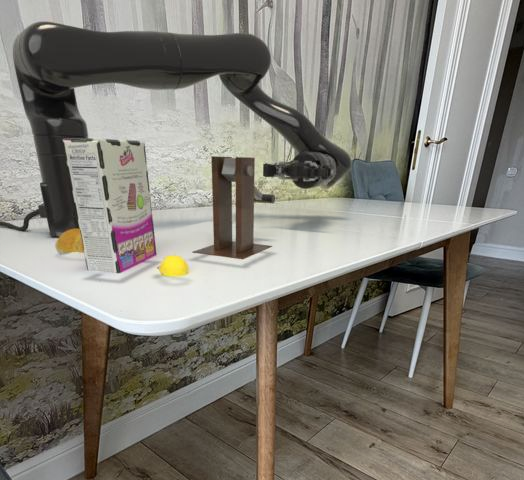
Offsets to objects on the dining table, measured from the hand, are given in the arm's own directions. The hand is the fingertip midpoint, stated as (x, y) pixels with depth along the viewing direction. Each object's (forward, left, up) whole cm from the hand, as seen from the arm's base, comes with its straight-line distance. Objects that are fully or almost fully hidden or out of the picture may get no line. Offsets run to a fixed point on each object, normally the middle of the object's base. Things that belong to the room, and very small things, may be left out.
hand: (285, 171), depth 77 cm
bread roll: (-37, -11, -13) cm, 40 cm away
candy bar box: (-31, -22, -13) cm, 40 cm away
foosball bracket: (-14, -16, -12) cm, 25 cm away
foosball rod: (-11, -13, -3) cm, 17 cm away
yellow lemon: (-25, -28, -13) cm, 40 cm away
